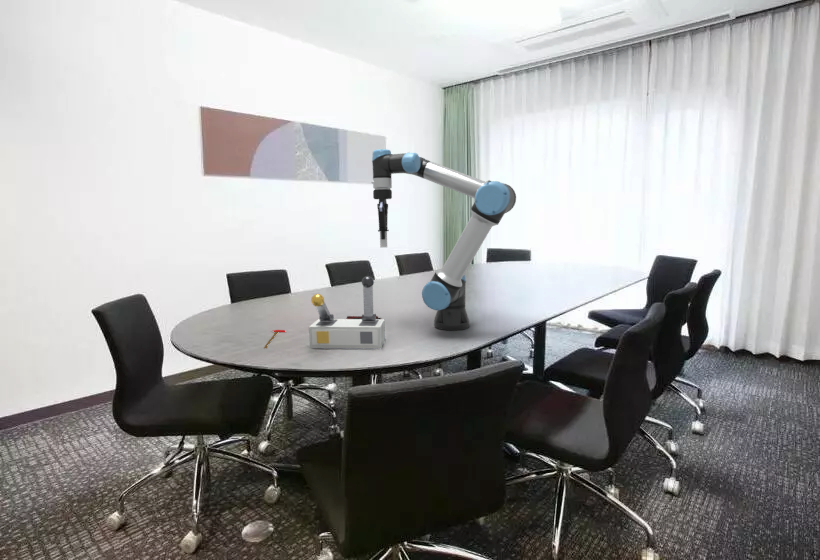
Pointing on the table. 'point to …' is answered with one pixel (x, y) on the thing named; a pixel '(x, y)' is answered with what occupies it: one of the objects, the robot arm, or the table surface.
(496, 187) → the robot arm
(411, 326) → the table surface
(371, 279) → the lever black
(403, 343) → the table surface
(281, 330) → the axe
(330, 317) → the lever amber
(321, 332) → the console
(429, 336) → the table surface
